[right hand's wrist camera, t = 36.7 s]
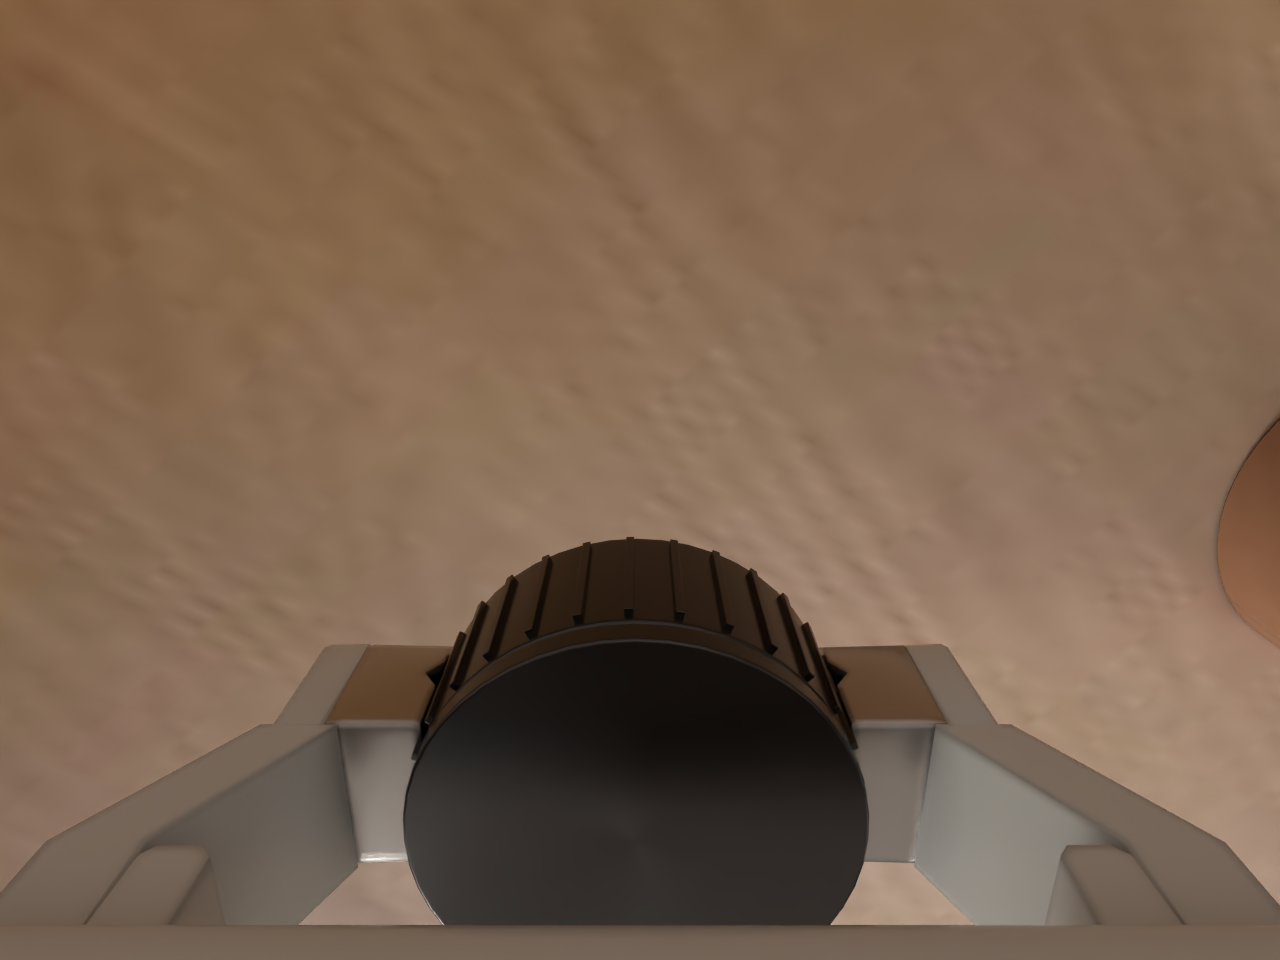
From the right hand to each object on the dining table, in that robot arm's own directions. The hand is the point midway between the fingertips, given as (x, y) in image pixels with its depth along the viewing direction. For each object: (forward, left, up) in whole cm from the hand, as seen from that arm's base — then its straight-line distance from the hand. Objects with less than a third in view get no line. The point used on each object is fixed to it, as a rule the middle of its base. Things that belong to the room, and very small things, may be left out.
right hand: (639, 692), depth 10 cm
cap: (0, 0, +2) cm, 2 cm away
